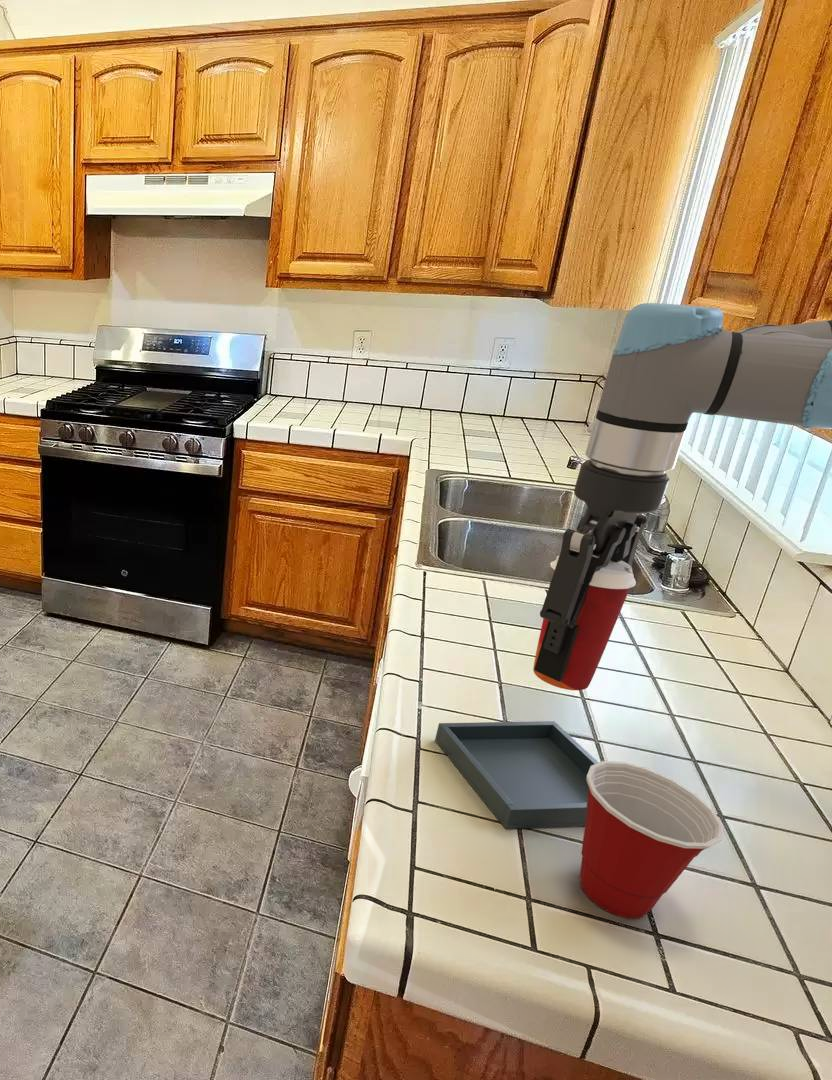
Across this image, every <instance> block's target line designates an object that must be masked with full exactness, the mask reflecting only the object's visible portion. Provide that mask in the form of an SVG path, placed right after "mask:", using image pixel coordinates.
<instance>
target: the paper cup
mask: <svg viewBox="0 0 832 1080" xmlns="http://www.w3.org/2000/svg"><path fill="white" fill-rule="evenodd" d="M559 556H560V554H559V555H557V556H555V560H552V561H551V562H550V564H549V565H550V568H551V569H552V570H553V572H552V575H553V574H554V571H555V568H556V565H557V562H558V559H559ZM592 556H593V557H596V558H600V557H598V556H595V555H593V554H592ZM634 575H635V574H634V573H633V567H632V566H630V565H629V564H627V563H626V562H624V561H620V562H617V563H616V562H613V561H610V562H609V564H608V565H607V566H606V567H603V568H601V569H600V570H599V571H596V572H595V573H594V575H593V578H592V581H591V582H590V584H589V585H590V587H589V591H588V594H587V598H586V601H585V604H584V606H583V608H582V611H581V613H580V615H579V617H578V619H577V622H576V625H578V626H579V629H578V632H577V635H576V638H575V642H574V645H573V648H572V651H571V654H570V658H569V661H568V664H567V667H566V670H565V674H564V677H563V680H561V681H560V682H559V681H556V680H554V679H552V678H550V677H548V676H545V675H543V674H541V673H539V672H537V671H535V670H534V668H535V665H536V662H537V658H538V655H539V651H540V648H541V645H542V641H543V638H544V635H545V631H546V628H547V624H548V621H549V620H547V619H544V618H542V623H541V627H540V633H539V636H538V641H537V647H536V651H535V657H534V662H533V667H532V669H533V670H532V671H533V673H534V675H535V676H536V677H537V678H538V679H540V681H542V682H544V683H546V684H549V685H551V686H553V687H556V688H559V689H561V690H568V691H583V690H587V689H588V688H589V686H590V685H591V682H592V680H593V678H594V675H595V673H596V671H597V669H598V667H599V664H600V662H601V659H602V657H603V655H604V653H605V650H606V648H607V645H608V643H609V641H610V638H611V636H612V633H613V631H614V628H615V627H616V626H615V625H616V623H617V621H618V618H619V616H620V614H621V612H622V609H623V607H624V606H623V605H624V604H625V602H626V599H627V596H628V594H629V592H630V589H631V588H633V587H635V586H636V583H637V581H636V578H635V577H634Z"/></svg>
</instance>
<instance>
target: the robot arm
mask: <svg viewBox="0 0 832 1080" xmlns="http://www.w3.org/2000/svg"><path fill="white" fill-rule="evenodd" d="M724 316H725V315H724V312H723V310H722V309H720V308H717V307H711V306H700V305H688V304H675V303H658V302H644V303H640V304H637V305H635V306H633V307H632V308H631V309H630V310H629V311H628V312H627V313H626V315H625V318H624V321H623V323H622V327H621V330H620V332H619V336H618V338H617V341H616V343H615V347H614V348H613V352H612V355H611V359H610V363H609V366H608V370H607V374H606V378H605V381H604V385H603V388H602V392H601V395H600V399H599V402H598V407H597V411H596V414H595V418H594V421H593V423H591V424H589V426H588V427H587V430H586V432H587V433H588V434H590V436H589V439H588V443H587V446H586V450H585V456H586V457H587V458H588V459H587V460H585V461H584V462H582V463H581V465H580V469H579V471H578V475H577V479H576V482H575V486H574V489H573V493H574V495H575V497H576V498H577V499H578V500H579V501H582V502H583V503H585V504H586V505H587V510H586V511H585V513H584V515H583V516H582V517H581V518H580V520H579V522H578V524H577V526H576V530H575V529H572V528H567V529H566V530H565V531H564V533H563V536H562V542H561V548H560V552H559V555H560V556H559V559H558V562H557V565H556V568H555V571H554V570H553V572H554V574H553V573H552V578H551V581H550V584H549V585H548V586H549V587H548V589H547V592H546V595H545V598H544V601H543V605H542V607H541V610H540V611H539V616H540V618H542V619H543V618H544V619H547V620H549V621H548V624H547V628H546V631H545V635H544V638H543V641H542V645H541V648H540V651H539V655H538V658H537V662H536V665H535V668H534V670H535V671H537V672H539V673H541V674H543V675H545V676H548V677H550V678H552V679H554V680H556V681H559V682H560V681H561V680H563V677H564V674H565V670H566V667H567V664H568V661H569V658H570V654H571V651H572V648H573V645H574V642H575V638H576V635H577V632H578V629H579V626H578V625H576V622H577V619H578V617H579V615H580V613H581V611H582V608H583V606H584V604H585V601H586V598H587V594H588V591H589V587H590V585H589V584H590V582H591V581H592V578H593V575H594V573H595V572H596V571H599V570H600V569H601V568H603V567H606V566H607V565H608V564H609V562H610V561H613V562H616V563H617V562H620V561H624V562H626V563H627V564H629V565H630V566H631V567H632V564H633V562H634V558H635V555H636V552H637V549H638V546H639V542H640V539H641V536H642V533H643V531H644V529H645V527H646V525H647V523H648V516H647V515H646V514H651V513H654V512H656V511H658V510H659V509H660V508H661V505H662V504H663V503H662V502H663V499H664V496H665V494H666V491H667V488H668V485H669V481H670V478H669V477H668V474H667V473H666V472H670V471H672V470H674V469H675V466H676V463H677V460H678V456H679V453H680V451H681V448H682V444H683V441H684V439H685V434H686V433H687V427H688V425H689V421H690V420H691V419H690V418H691V417H692V414H694V413H695V414H703V415H706V416H707V415H708V416H714V415H715V416H722V417H728V418H729V417H730V418H736V419H743V420H751V421H758V422H766V423H772V424H773V423H774V424H779V425H780V424H781V425H787V426H794V427H801V428H802V427H803V429H804V430H811V429H812V430H813V429H825V430H832V319H829V320H818V321H811V322H802V323H795V324H794V323H793V324H786V325H775V324H761V325H757V326H756V325H755V326H751V327H747V328H745V329H742V330H739V331H737V332H736V331H731V330H726V329H723V328H724V324H723V322H724ZM644 514H645V515H644ZM592 554H593V555H595V556H598V557H600V558H596V557H593V556H592Z"/></svg>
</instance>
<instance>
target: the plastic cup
mask: <svg viewBox="0 0 832 1080" xmlns="http://www.w3.org/2000/svg"><path fill="white" fill-rule="evenodd" d="M586 781H587V783H588V786H589V787H588V789H589V791H588V802H587V815H586V823H585V826H584V830H583V836H582V837H583V838H582V846H581V863H580V864H581V865H580V870H579V879H580V881H579V882H580V886H581V889H582V891H583V892H584V894H585V895H586V896H587V897H588V899H589V900H590V901H591V902H592V903H594V904H595V905H597V906H598V907H599V908H601V910H604V911H607V912H609V913H610V914H612V915H614V916H618V917H622V918H625V919H640V918H643V917H644V916H646V915H647V914H648V913H649V912H651V911H652V909H653V908H654V907H655V906H656V904H657V903H658V901H659V900H660V899H661V897H662V896H663V895H664V894H666V893H667V892H668V891H669V889H670V888H671V887H672V886H673V884H674V883H675V882H676V881H677V880H678V878H679V877H680V876H681V875H682V873H683V872H684V871H685V869H686V868H687V867H688V866H689V865H690V863H691V862H692V861H693V860H694V859H695V858H696V857H697V856H699V855H700V853H702V851H704V850H707V849H709V848H712V846H714V845H717V844H718V843H720V842H722V841H723V839H724V830H725V826H724V825H723V823H722V822H721V820H720V818H719V816H718V815H717V813H716V811H715V810H714V809H713V808H712V807H711V806H710V805H708V804H707V803H706V802H705V801H704V800H703V799H702V798H701V797H700V796H699V795H697V793H695V792H693V791H692V790H690V789H688V788H687V787H685V786H684V785H682V784H680V783H679V782H677V781H676V780H674V779H673V778H671V777H668V776H666V775H663V774H661V773H659V772H657V771H655V770H652V769H650V768H648V767H644V766H640V765H638V764H633V763H629V762H626V761H615V760H614V761H613V760H601V761H599V763H597V764H594V765H592V766H591V767H590V769H589V772H588V774H587V779H586Z"/></svg>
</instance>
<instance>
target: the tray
mask: <svg viewBox="0 0 832 1080" xmlns="http://www.w3.org/2000/svg"><path fill="white" fill-rule="evenodd" d="M434 741H435V742H436V744H437V745H438V746H439V747H440V749H441V750H442V752H444V754H445V755H446V756H447V757H448V759H449V760H450V761H451V762H452V764H453V765H454V766H455V767H456V769H457V770H458V771H459V773H461V775H462V776H463V778H464V779H465V780H466V781H467V783H468V784H469V785H470V786H471V787H472V789H473V790H474V791H475V793H476V794H477V795H478V797H479V798H480V799H481V800H482V801H483V802H484V804H485V805H486V806H487V808H488V809H489V810H490V811H491V813H492V814H493V815H494V816H495V818H496V819H497V820H498V822H499V823H500V824H501V825H502V826H503V828H504V829H505V830H515V829H517V830H518V829H519V830H521V829H542V828H543V829H547V828H548V829H549V828H576V827H577V828H578V827H585V823H586V815H587V802H588V791H589V789H588V787H589V786H588V783H587V781H586V779H587V774H588V772H589V769H590V767H591V766H592V765H594V764H597V763H600V761H598V760H597V759H596V758H595V757H594V756H593V755H592V754H591V753H589V752H588V750H587V749H585V748H584V747H583V746H582V745H581V744H580V743H578V741H576V740H575V738H573V737H572V736H571V735H570V734H569V733H568V732H567V731H566V730H565V729H563V728H562V727H561V725H559V724H558V723H557V722H556V721H555V720H543V721H540V720H539V721H538V720H537V721H536V720H535V721H491V722H490V721H489V722H488V721H487V722H486V721H485V722H483V721H481V722H439V723H438V726H437V730H436V734H435V738H434Z"/></svg>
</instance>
